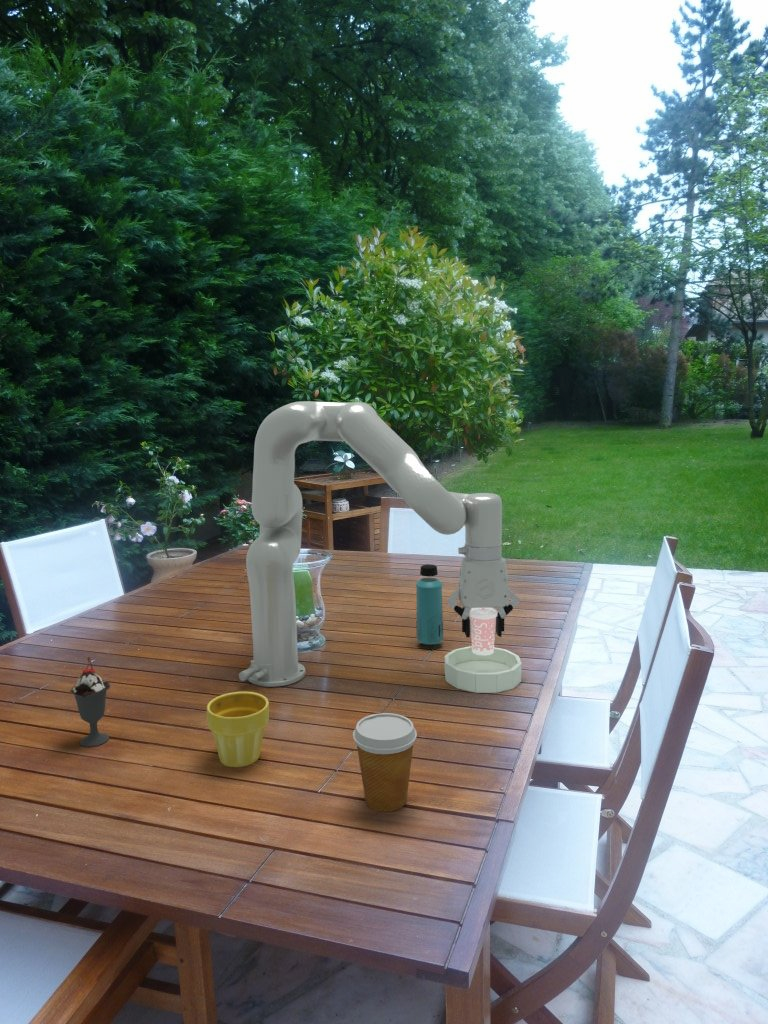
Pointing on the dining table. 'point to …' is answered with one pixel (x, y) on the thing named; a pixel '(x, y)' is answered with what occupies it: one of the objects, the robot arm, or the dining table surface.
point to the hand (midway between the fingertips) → (483, 634)
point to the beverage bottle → (429, 607)
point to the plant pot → (238, 726)
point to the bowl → (483, 670)
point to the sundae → (91, 704)
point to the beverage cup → (483, 630)
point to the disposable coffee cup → (385, 759)
